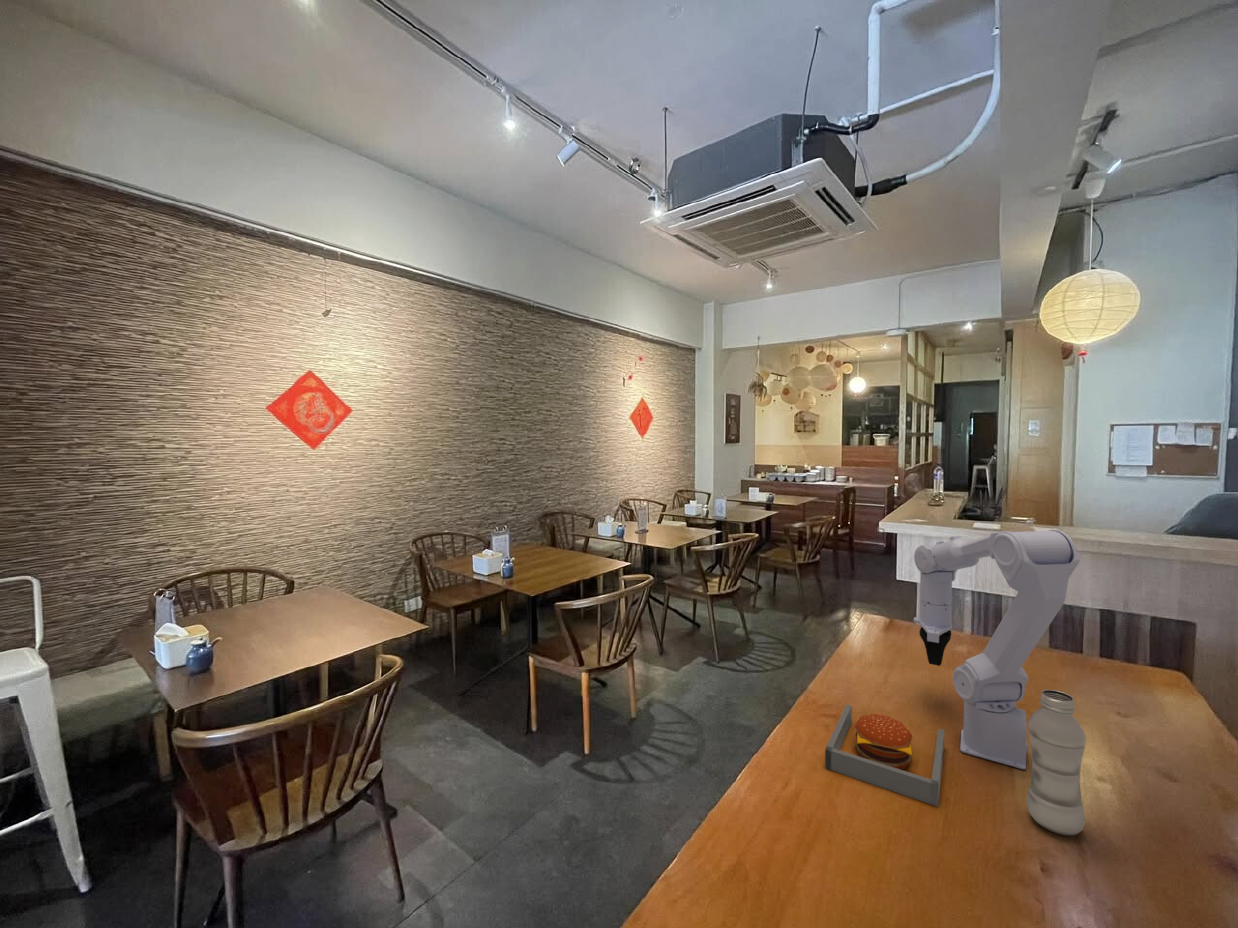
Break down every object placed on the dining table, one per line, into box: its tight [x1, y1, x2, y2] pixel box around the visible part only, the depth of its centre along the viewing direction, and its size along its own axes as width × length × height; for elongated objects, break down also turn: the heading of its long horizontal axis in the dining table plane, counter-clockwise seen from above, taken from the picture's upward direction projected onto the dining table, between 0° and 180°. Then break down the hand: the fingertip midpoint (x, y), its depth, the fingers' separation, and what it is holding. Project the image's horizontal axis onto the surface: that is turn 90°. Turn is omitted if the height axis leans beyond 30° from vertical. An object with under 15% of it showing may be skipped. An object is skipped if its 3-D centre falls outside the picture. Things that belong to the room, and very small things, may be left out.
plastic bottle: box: [1026, 689, 1087, 837], centre depth 75 cm, size 6×7×20 cm
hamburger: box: [854, 713, 914, 771], centre depth 93 cm, size 9×10×7 cm
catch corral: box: [824, 703, 945, 807], centre depth 92 cm, size 17×18×4 cm
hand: (934, 663), depth 109 cm, fingers closed
